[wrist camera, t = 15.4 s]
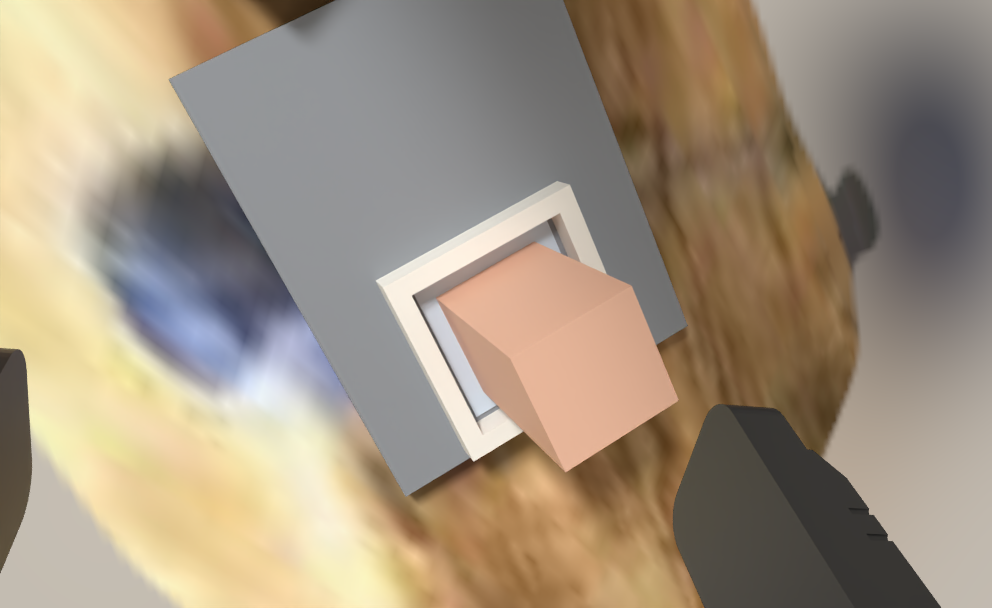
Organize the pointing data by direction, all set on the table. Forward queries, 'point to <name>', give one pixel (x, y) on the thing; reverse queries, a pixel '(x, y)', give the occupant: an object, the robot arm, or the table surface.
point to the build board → (421, 191)
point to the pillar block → (560, 351)
